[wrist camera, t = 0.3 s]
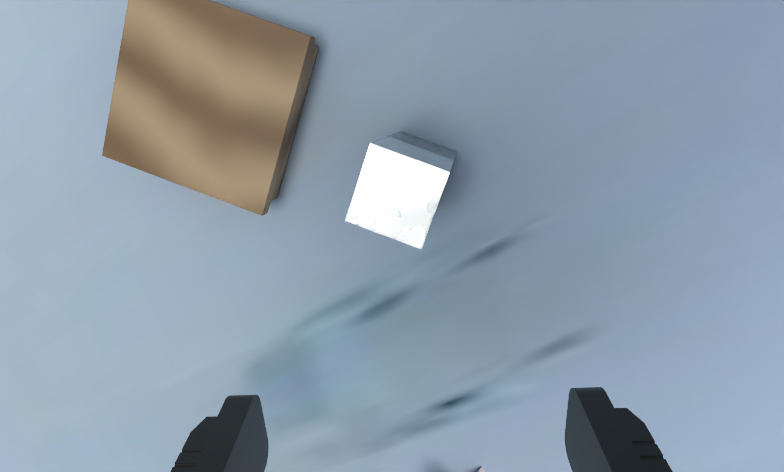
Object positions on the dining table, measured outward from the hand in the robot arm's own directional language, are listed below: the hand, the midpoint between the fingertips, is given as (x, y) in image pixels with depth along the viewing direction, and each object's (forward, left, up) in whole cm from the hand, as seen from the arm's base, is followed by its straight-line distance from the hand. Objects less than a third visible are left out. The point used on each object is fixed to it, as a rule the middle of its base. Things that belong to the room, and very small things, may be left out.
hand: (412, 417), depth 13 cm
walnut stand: (-2, -19, -27) cm, 34 cm away
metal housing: (-2, -3, -28) cm, 28 cm away
